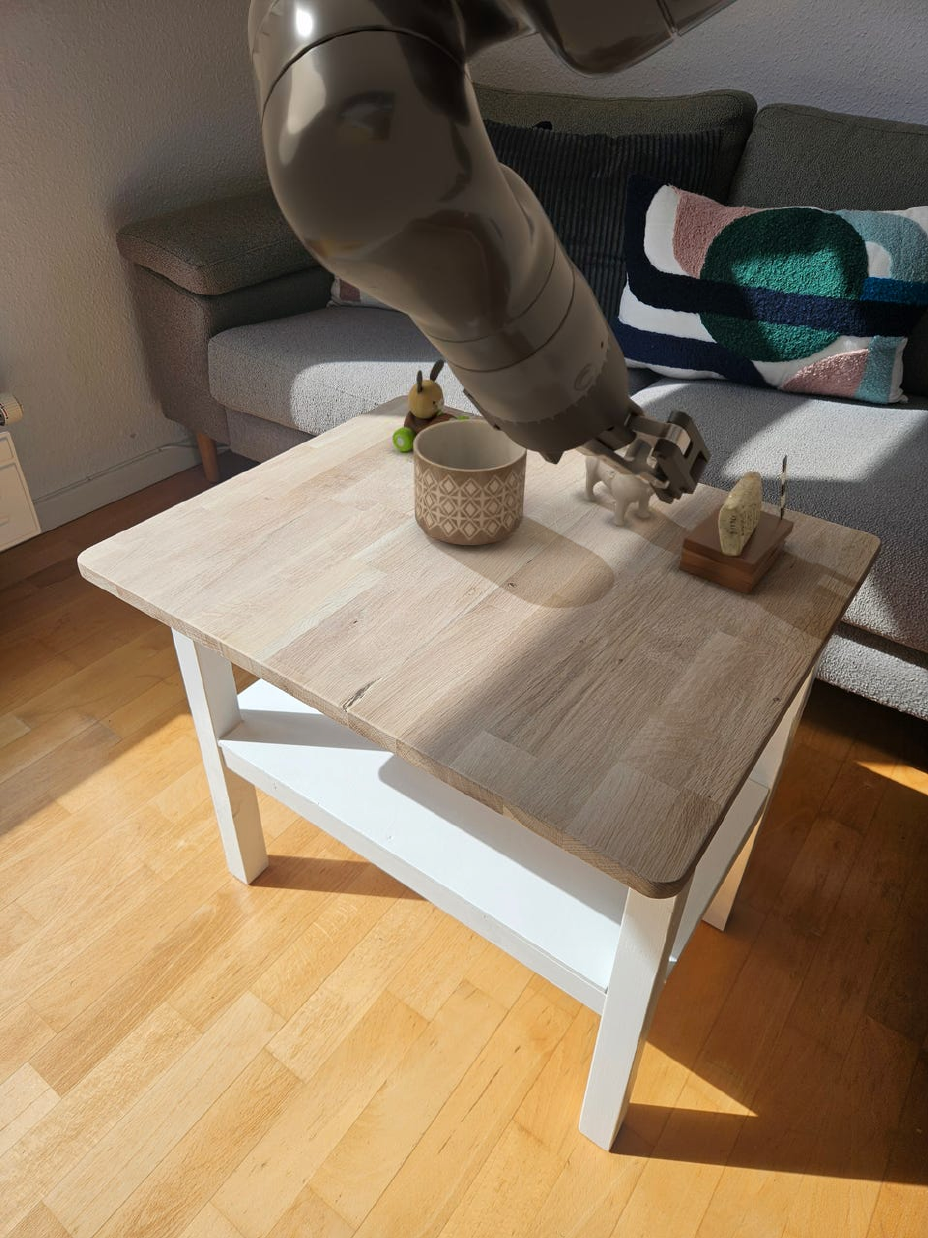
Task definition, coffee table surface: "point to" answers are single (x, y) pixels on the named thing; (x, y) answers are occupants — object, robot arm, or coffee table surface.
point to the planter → (468, 482)
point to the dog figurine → (619, 486)
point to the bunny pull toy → (423, 409)
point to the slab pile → (734, 571)
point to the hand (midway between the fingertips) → (614, 469)
